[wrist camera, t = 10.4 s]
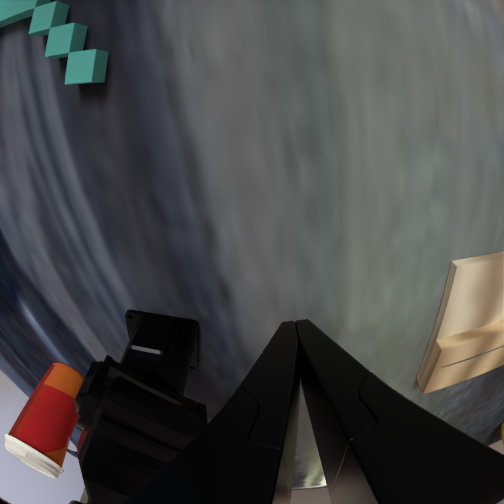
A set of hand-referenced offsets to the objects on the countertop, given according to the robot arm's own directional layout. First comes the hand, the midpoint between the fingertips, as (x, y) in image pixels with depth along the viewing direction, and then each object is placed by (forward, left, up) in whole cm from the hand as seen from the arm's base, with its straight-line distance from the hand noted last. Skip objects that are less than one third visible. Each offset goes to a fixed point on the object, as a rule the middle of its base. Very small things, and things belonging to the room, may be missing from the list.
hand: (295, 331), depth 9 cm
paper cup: (-25, +22, -12) cm, 35 cm away
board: (-7, -29, -12) cm, 32 cm away
